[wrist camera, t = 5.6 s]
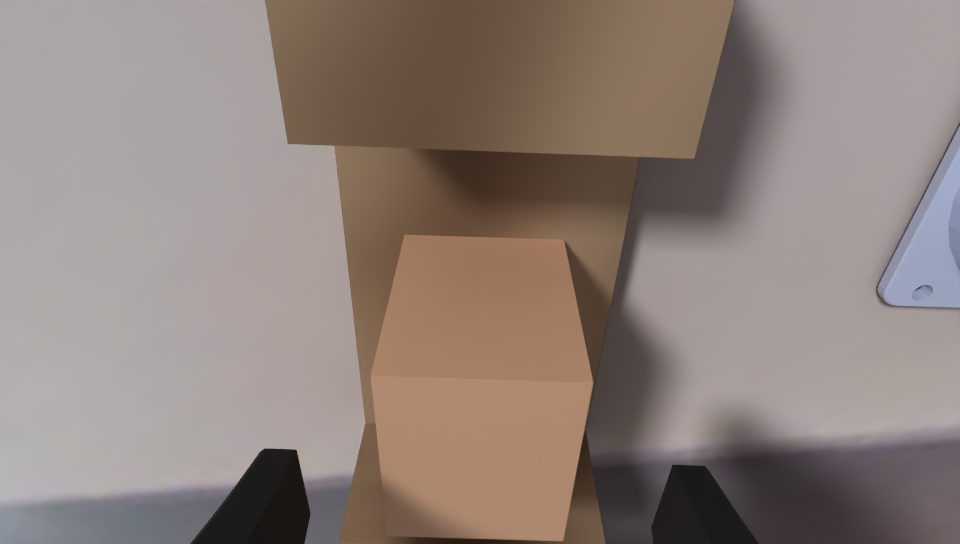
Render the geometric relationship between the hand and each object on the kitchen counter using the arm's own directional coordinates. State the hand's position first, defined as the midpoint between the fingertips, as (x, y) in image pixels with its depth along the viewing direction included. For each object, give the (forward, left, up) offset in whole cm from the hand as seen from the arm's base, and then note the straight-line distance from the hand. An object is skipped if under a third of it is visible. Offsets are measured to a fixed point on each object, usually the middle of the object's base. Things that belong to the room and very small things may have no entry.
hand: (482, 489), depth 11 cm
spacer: (0, 0, -6) cm, 6 cm away
